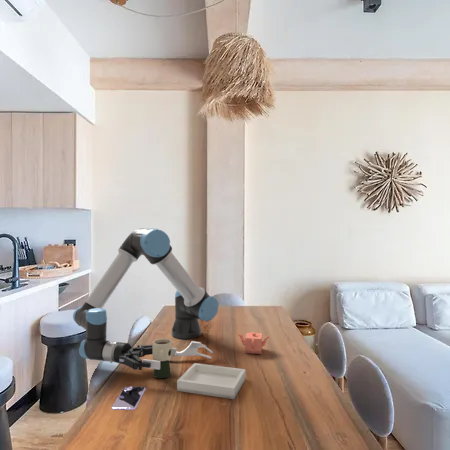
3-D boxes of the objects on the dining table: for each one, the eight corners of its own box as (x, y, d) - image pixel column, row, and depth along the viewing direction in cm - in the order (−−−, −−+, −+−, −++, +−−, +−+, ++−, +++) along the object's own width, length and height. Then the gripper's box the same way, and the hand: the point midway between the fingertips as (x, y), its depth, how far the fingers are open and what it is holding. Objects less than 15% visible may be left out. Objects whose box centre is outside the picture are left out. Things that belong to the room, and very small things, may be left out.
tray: (194, 372, 138) (194, 363, 138) (245, 378, 132) (245, 369, 132) (177, 390, 122) (177, 380, 122) (234, 399, 117) (234, 388, 117)
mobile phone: (110, 407, 110) (124, 385, 125) (110, 410, 110) (124, 388, 125) (135, 407, 110) (146, 385, 125) (135, 411, 110) (146, 388, 125)
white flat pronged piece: (204, 372, 153) (164, 358, 150) (214, 347, 153) (175, 332, 151) (205, 374, 151) (164, 360, 148) (215, 349, 151) (175, 334, 149)
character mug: (171, 382, 129) (172, 345, 129) (151, 383, 128) (151, 346, 128) (171, 370, 140) (172, 336, 140) (153, 370, 139) (153, 337, 139)
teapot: (270, 357, 154) (270, 337, 154) (235, 355, 156) (235, 336, 156) (270, 347, 166) (271, 329, 166) (238, 346, 168) (238, 328, 168)
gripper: (134, 351, 151) (181, 356, 145) (97, 375, 127) (152, 382, 121) (135, 333, 151) (181, 338, 145) (97, 353, 127) (152, 360, 121)
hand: (168, 358), depth 133 cm, fingers open, 13 cm apart
